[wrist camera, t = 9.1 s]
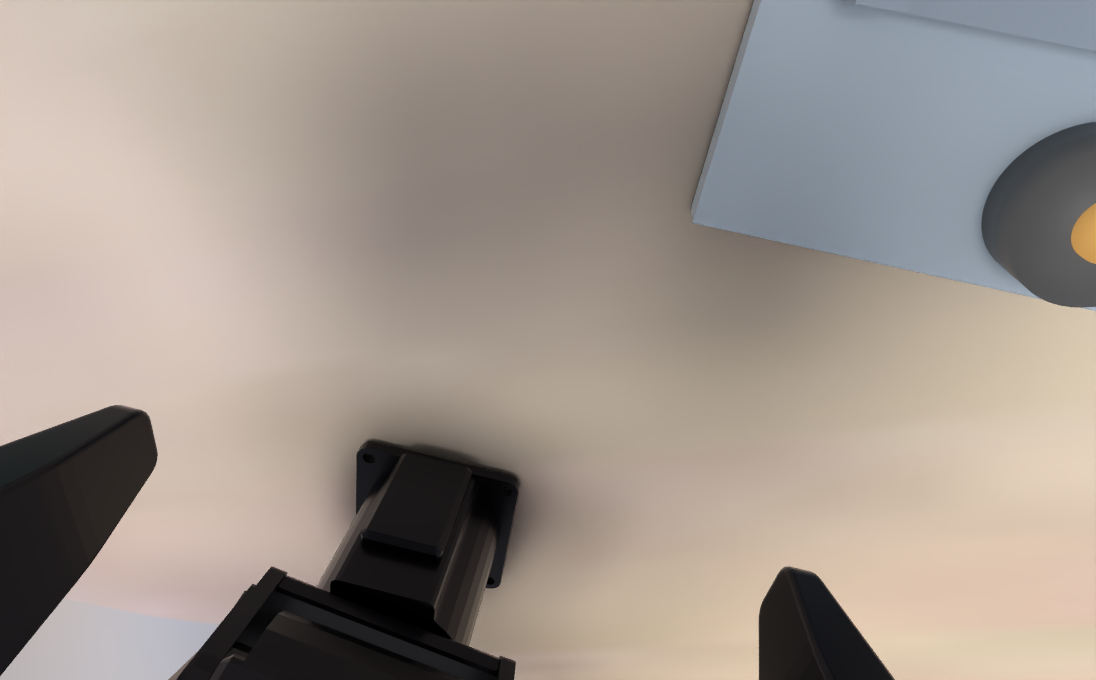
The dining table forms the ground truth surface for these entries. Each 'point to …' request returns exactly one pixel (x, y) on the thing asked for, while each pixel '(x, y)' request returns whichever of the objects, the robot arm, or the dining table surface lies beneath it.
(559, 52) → the dining table surface
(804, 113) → the chassis
